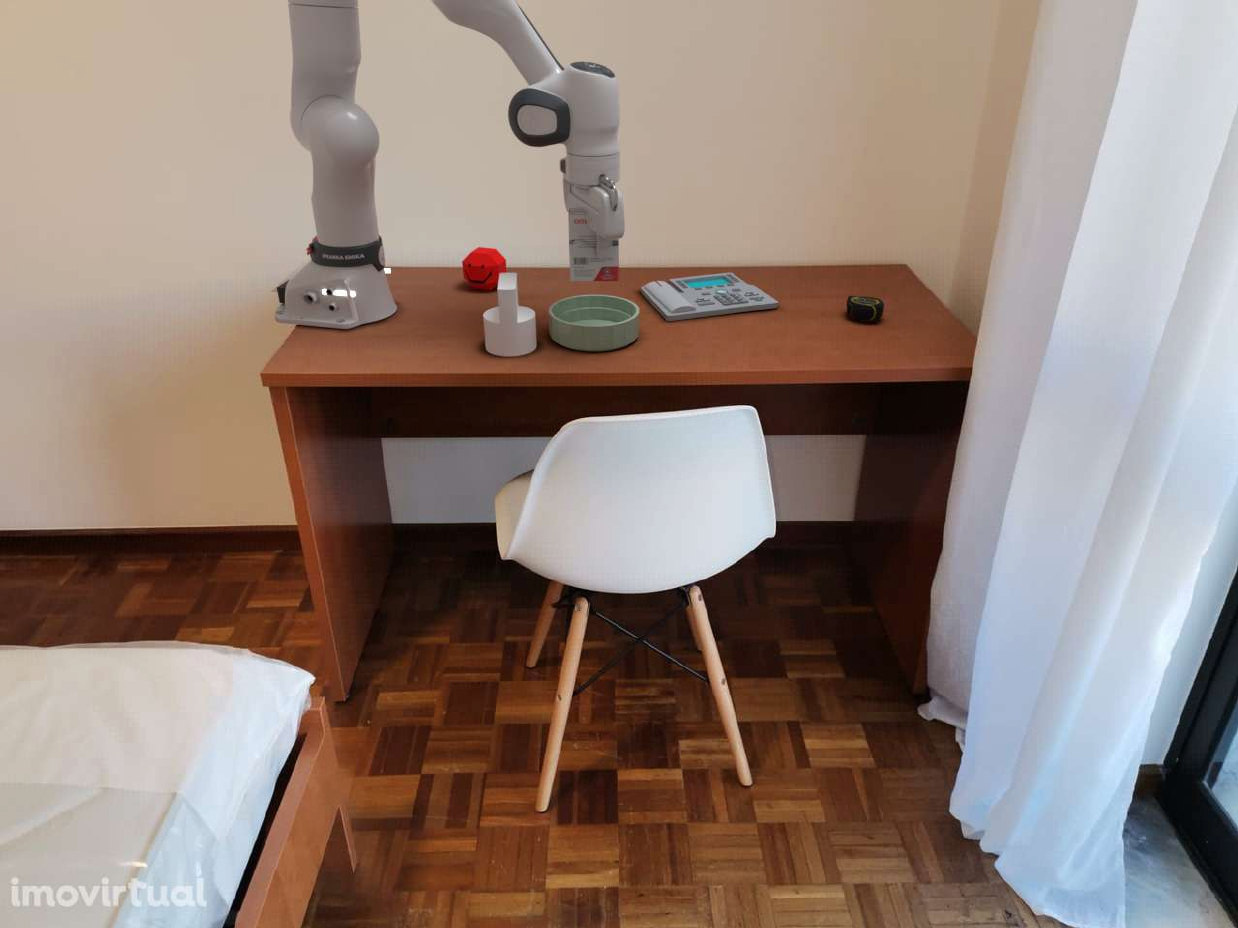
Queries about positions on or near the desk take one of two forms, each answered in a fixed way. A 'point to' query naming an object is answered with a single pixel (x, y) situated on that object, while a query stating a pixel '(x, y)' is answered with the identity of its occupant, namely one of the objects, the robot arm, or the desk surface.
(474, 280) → the ball
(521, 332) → the base with upright slab
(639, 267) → the desk surface
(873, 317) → the tape measure
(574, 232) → the ink box
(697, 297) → the office telephone
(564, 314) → the bowl
